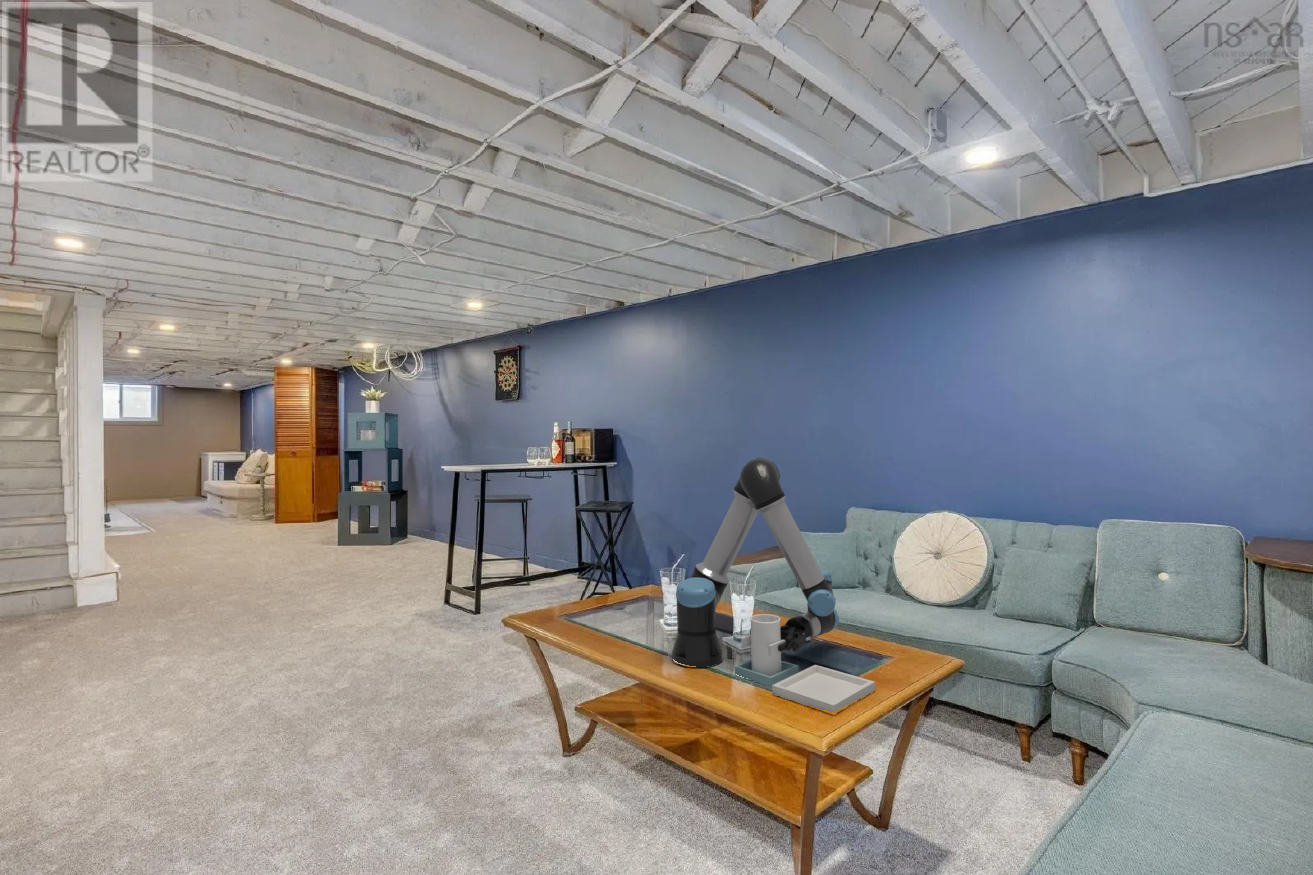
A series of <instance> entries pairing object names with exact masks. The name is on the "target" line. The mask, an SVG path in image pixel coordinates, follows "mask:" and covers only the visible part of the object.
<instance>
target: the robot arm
mask: <svg viewBox="0 0 1313 875" xmlns="http://www.w3.org/2000/svg"><path fill="white" fill-rule="evenodd" d="M780 480H781V473H780V470H779V467H778V465H777V464H776V463H775V462H774V461H772V460H770V459H768V458H766V457H755V458H752V459H750V460H749V461H748V462H747V463H745V465H744V466H743V467H742V468H741V472H740V474H739V477H738V480H737V481H736V483H735V486H734V487H733V490H732V491H733V493H734V498H733V500H732V502H731V504H730V506H729V509H728V511H727V512H726V514H725V517H724V519H723V521H722V523H721V525H720V527H719V529H718V531H717V533H716V535H715V537H714V539H713V541H712V543H711V544H710V547H709V549H708V551H707V552H706V555H705V557H704V559H703V561H702V562H699V563H697V564H695V566H694V568H693V571H692V573H691V575H690V577H688V578H685V579H683V580H681V581H679V583H678V584H677V586H676V592H675V597H676V598H675V599H676V621H677V622H676V624H677V626H676V627H677V628H676V630H677V634H676V638H675V642H674V645H673V649H672V652H671V653H672V654H671V656H672V657H671V659H672V658H673V659H674V660H675V661H677V662H678V663H681V664H685V665H689V666H696V667H705V668H708V667H707V666H711V667H713V666H712V665H714V666H716V665H715V664H717V665H719V664H721V663H722V662H723V650H722V647H721V644H720V641H719V639H718V638H719V637H718V635H717V630H716V614H717V613H716V610H717V607H718V604H719V603H720V601H721V599H722V596H723V594H724V592H725V590H726V588H727V586H728V584H729V582H730V581H729V577H728V573H729V571H730V569H731V567H732V566H733V563H734V562H735V559H736V557H737V555H738V553H739V551H740V550H741V547H742V545H743V543H744V541H745V539H746V537H747V535H748V533H749V531H750V529H751V527H752V525H753V523H754V521H755V519H756V517H757V516H758V513H761V515H762V517H763V518H764V520H765V522H766V524H767V526H768V528H769V530H770V531H771V532H770V533H771V534H772V536H773V538H774V540H775V541H776V544H777V545H778V547H779V549H780V551H781V553H782V555H783V557H784V558H785V561H786V563H787V564H788V566H789V569H790V570H791V572H792V574H793V576H794V578H795V580H796V581H797V584H798V585H799V588H800V589H801V592H802V594H803V596H804V597H805V599H806V601H807V602H806V603H807V604H806V605H807V612H805V613H802V614H799V615H796V616H794V617H791V618H789V619H788V620H787V621H786V623H785V624H784V625H782V626H781V625H780V634H781V641H778V642H776V643H773V644H771V645H768V655H769V656H772V655H775V654H777V653H779V652H781V653H783V651H790V650H792V651H793V652H797V651H799V650H800V649H802V647H804V646H806V644H809V643H812V642H811V641H812V639H814V638H816V637H819V636H822V635H824V634H828V633H830V632H832V631H833V630H835V629H836V628H837V627H838V626H839V622H840V617H839V614H838V612H837V610H836V609H835V608H836V597H835V594H834V593H833V584H832V583H833V579H832V573H831V572H830V571H829V570H825V569H820V567H819V565H818V563H817V562H816V559H815V558H814V555H813V554H812V552H811V550H810V548H809V546H808V544H807V541H806V540H805V538H804V536H803V534H802V532H801V530H800V529H799V527H798V525H797V523H796V521H795V519H794V517H793V515H792V513H791V511H790V510H789V507H788V506H787V504H786V501H785V499H786V494H785V492H784V491H783V489H782V485H781V482H780ZM715 613H716V614H715ZM740 643H741V644H740V646H741V647H740V648H742V649H745V648H748V647H751V629H749V634H748V635H746V636H743V637H741V640H740Z"/></svg>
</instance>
